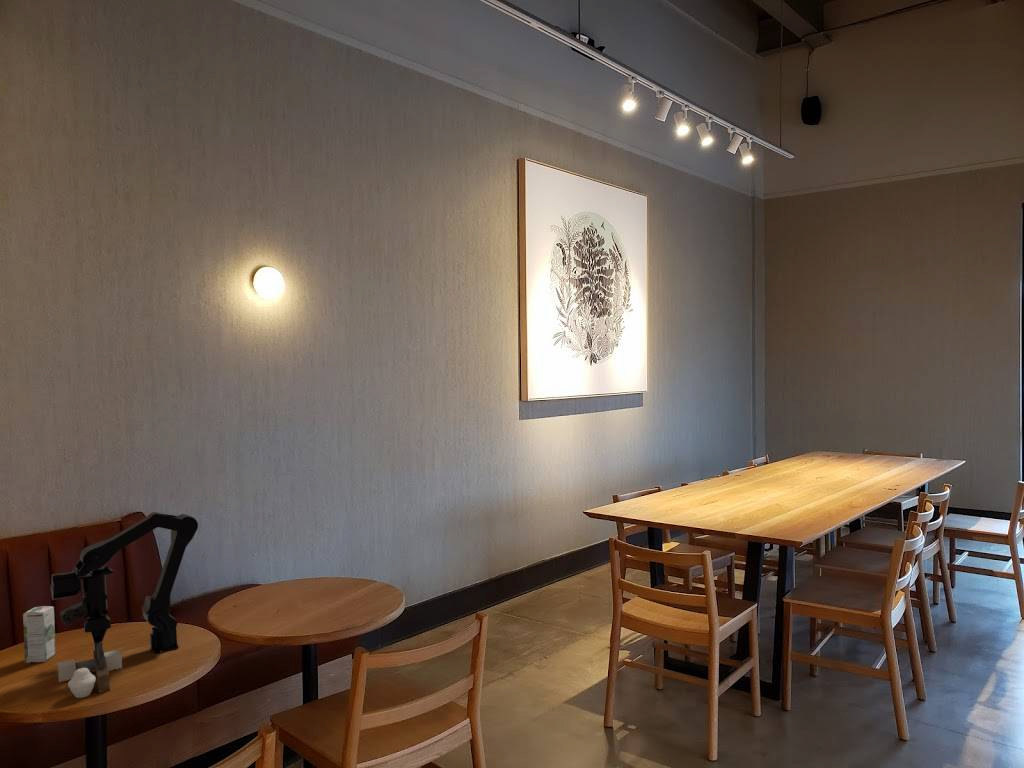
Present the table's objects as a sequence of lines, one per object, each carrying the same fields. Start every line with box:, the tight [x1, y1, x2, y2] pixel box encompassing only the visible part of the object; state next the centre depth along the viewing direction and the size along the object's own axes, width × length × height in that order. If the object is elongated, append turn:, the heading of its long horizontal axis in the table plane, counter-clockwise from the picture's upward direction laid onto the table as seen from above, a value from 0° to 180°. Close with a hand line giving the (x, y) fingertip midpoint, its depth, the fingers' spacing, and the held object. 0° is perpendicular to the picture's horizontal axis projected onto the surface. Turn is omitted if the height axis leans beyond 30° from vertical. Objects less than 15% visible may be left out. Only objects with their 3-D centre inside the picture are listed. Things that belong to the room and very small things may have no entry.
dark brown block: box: [92, 648, 111, 694], centre depth 201 cm, size 2×22×4 cm, turn 32°
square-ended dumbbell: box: [57, 649, 123, 683], centre depth 205 cm, size 15×4×4 cm, turn 122°
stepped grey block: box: [93, 641, 105, 669], centre depth 203 cm, size 2×16×2 cm, turn 32°
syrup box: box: [22, 605, 57, 664], centre depth 217 cm, size 6×6×14 cm
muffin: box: [67, 668, 97, 699], centre depth 190 cm, size 6×6×7 cm
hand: (98, 647), depth 211 cm, fingers closed
